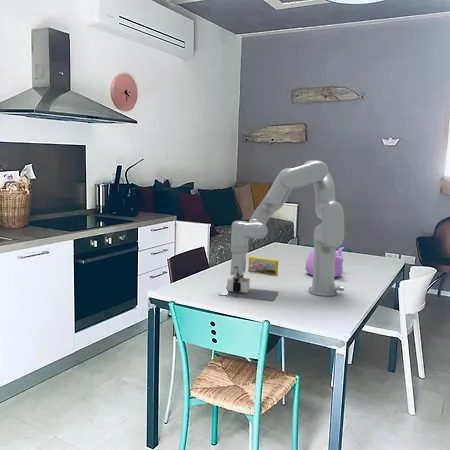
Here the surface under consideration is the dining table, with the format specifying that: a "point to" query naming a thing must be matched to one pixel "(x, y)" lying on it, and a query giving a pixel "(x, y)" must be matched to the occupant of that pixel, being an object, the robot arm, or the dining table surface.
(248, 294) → the mat
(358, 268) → the dining table surface
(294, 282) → the dining table surface
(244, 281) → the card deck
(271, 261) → the candy box
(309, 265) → the teapot
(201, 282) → the dining table surface
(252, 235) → the robot arm
